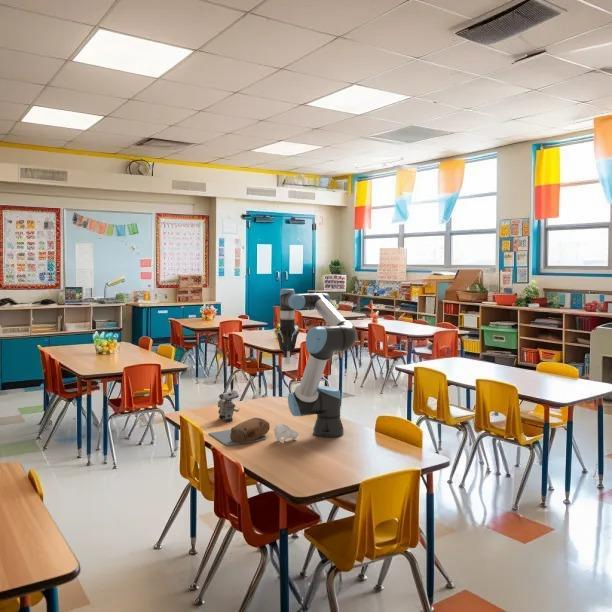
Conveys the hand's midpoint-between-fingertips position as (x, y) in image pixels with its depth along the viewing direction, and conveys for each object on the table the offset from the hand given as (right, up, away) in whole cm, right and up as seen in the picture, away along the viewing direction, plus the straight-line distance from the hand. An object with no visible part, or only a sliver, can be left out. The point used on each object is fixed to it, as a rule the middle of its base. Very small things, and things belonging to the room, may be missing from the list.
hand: (287, 363), depth 311 cm
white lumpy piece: (+1, -35, -25) cm, 43 cm away
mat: (-24, -34, -19) cm, 46 cm away
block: (-12, -29, -14) cm, 34 cm away
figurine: (-32, -32, +13) cm, 47 cm away
